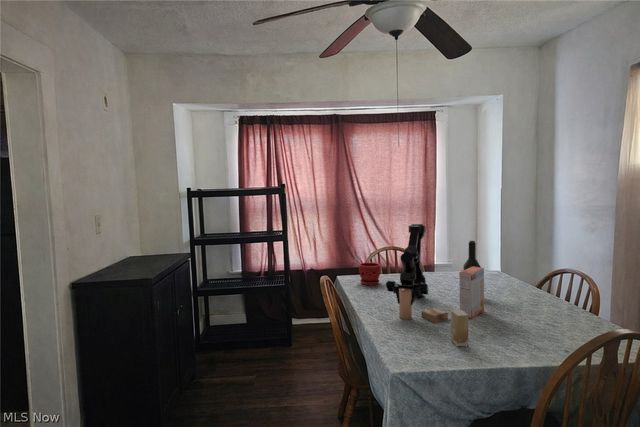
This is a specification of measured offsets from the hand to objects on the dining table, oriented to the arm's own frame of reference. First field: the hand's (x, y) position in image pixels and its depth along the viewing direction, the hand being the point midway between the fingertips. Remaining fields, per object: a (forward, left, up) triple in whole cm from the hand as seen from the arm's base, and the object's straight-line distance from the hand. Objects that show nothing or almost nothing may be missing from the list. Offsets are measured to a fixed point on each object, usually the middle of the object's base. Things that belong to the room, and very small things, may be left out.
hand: (404, 304), depth 171 cm
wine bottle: (-50, -3, -7) cm, 51 cm away
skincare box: (+2, +31, -7) cm, 32 cm away
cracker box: (-29, +13, -7) cm, 33 cm away
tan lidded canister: (-1, -1, -7) cm, 7 cm away
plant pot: (-25, -57, -7) cm, 62 cm away
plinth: (-11, +7, -7) cm, 15 cm away
